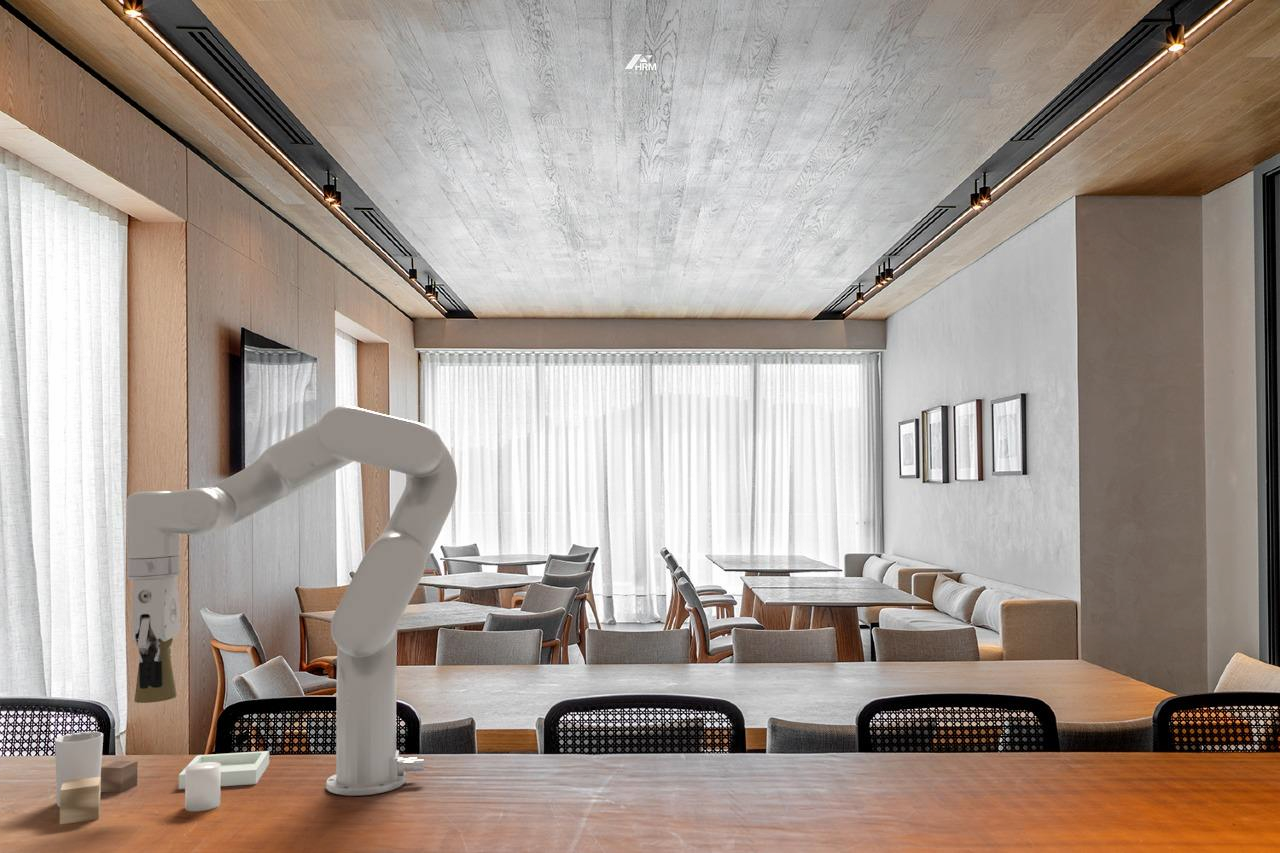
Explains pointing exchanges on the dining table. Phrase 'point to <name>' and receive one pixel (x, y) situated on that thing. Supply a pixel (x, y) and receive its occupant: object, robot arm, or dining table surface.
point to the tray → (234, 767)
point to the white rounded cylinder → (202, 786)
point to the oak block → (80, 800)
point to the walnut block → (118, 776)
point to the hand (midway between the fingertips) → (155, 683)
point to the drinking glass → (77, 757)
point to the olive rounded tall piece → (168, 686)
